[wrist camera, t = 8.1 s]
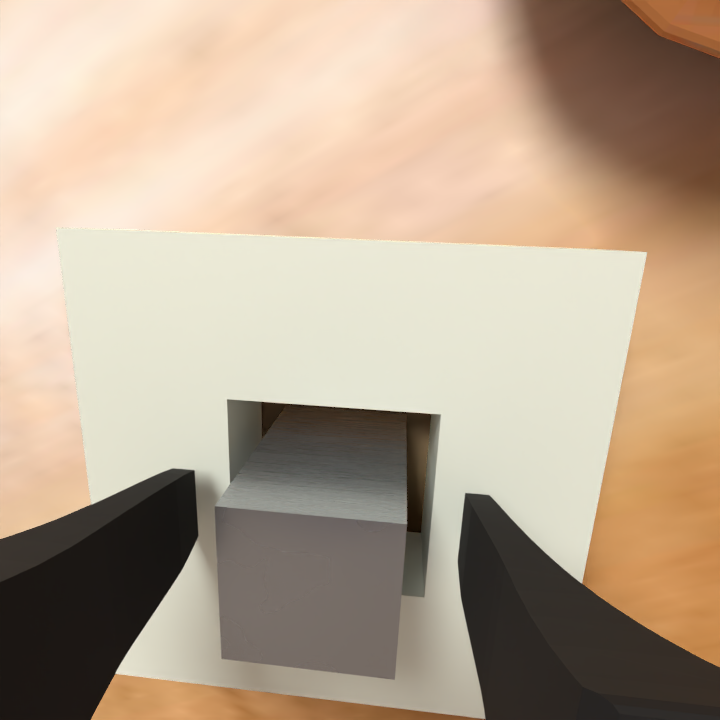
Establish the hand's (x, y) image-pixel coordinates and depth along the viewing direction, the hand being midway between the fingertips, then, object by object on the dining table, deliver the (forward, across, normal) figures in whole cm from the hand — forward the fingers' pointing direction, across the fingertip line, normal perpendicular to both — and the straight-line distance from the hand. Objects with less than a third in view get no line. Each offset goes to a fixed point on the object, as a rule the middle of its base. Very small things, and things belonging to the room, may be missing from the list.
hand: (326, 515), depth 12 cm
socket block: (+4, 0, 0) cm, 4 cm away
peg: (+4, 0, 0) cm, 4 cm away
